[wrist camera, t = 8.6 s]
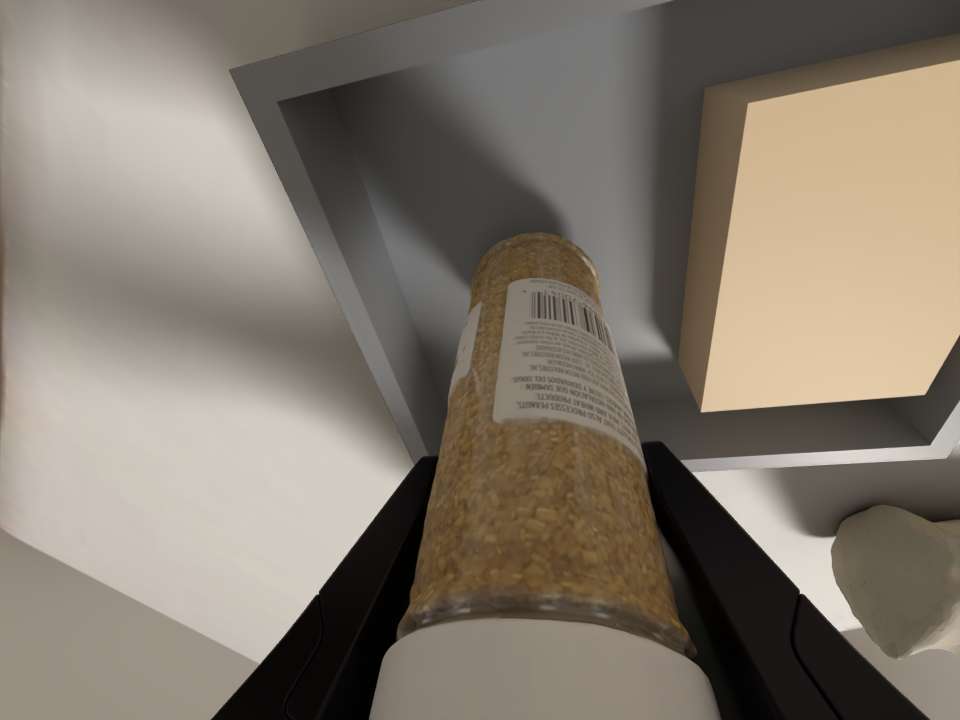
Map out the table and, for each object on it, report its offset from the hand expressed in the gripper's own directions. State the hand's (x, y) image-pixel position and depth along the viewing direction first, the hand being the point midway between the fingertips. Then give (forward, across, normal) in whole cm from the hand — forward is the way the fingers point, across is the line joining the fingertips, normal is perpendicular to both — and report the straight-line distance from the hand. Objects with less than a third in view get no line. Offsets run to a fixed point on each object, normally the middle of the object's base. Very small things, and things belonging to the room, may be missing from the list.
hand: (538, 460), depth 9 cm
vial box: (+9, -9, 0) cm, 12 cm away
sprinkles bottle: (+8, 0, 0) cm, 8 cm away
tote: (+9, -4, 0) cm, 10 cm away
